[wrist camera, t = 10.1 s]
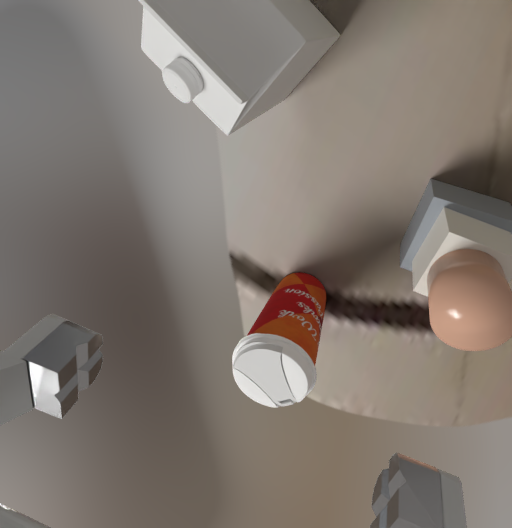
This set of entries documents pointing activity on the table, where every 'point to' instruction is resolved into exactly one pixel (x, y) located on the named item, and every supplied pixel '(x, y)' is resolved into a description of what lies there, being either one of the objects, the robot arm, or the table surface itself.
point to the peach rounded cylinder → (469, 300)
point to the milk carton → (234, 52)
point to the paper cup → (283, 344)
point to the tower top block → (460, 244)
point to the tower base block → (455, 200)
